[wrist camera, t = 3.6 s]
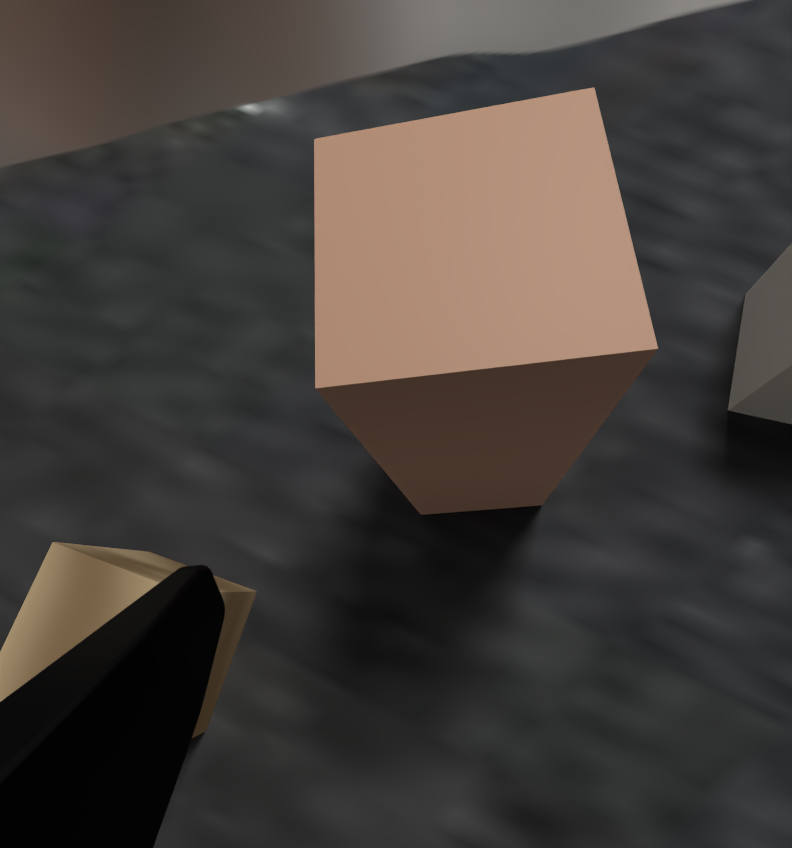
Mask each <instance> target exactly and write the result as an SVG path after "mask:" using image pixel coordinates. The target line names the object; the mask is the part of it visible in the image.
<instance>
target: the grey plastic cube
mask: <svg viewBox="0 0 792 848" xmlns="http://www.w3.org/2000/svg"><path fill="white" fill-rule="evenodd" d="M728 411H732V412H737V413H742V414H746V415H751V416H756V417H760V418H765V419H769V420H774V421H779V422H783V423H788V424H792V243H791V245H790V246H789V247H788V248H787V249H786V250H785V251H784V252H783V253H782V254H781V256H780V257H779V258H778V259H777V260H776V261H775V262H774V263H773V264H772V266H771V267H770V268H769V269H768V270H767V271H766V272H765V273H764V274H763V275H762V277H761V278H760V279H759V280H758V281H757V282H756V283H755V284H754V285H753V287H752V288H751V289H750V290H749V291H748V292H747V293H746V294H745V300H744V307H743V313H742V320H741V327H740V333H739V340H738V346H737V353H736V360H735V366H734V373H733V379H732V386H731V392H730V399H729V406H728Z"/></svg>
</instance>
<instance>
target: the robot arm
mask: <svg viewBox="0 0 792 848" xmlns="http://www.w3.org/2000/svg"><path fill="white" fill-rule="evenodd" d="M224 617H225V604H224V600H223V598H222V595H221V593H220V591H219V588H218V586H217V583H216V581H215V579H214V576H213V574H212V572H211V570H210V569H209V568H208V567H207V566H204V565H196V566H184V567H181V568H179V569H177V570H176V571H175V572H173V573H172V574H171V575H169V576H168V577H166V578H165V579H164V580H162V581H161V582H160V583H158V584H157V585H156V586H154V587H153V588H152V589H150V590H149V591H148V592H146V593H145V594H144V595H142V596H141V597H140V598H138V599H137V600H136V601H134V602H133V603H132V604H130V605H129V606H128V607H126V608H125V609H124V610H122V611H121V612H120V613H118V614H117V615H116V616H114V617H113V618H112V619H110V620H109V621H108V622H106V623H105V624H104V625H102V626H101V627H100V628H98V629H97V630H96V631H94V632H93V633H92V634H90V635H89V636H88V637H86V638H85V639H84V640H82V641H81V642H80V643H78V644H77V645H76V646H74V647H73V648H72V649H70V650H69V651H68V652H66V653H65V654H64V655H62V656H61V657H60V658H58V659H57V660H56V661H54V662H53V663H52V664H50V665H49V666H48V667H46V668H45V669H44V670H42V671H41V672H40V673H38V674H37V675H36V676H34V677H33V678H32V679H30V680H29V681H28V682H26V683H25V684H24V685H22V686H21V687H19V688H18V689H17V690H15V691H14V692H13V693H11V694H10V695H9V696H7V697H6V698H5V699H3V700H2V701H1V702H0V848H153V846H154V843H155V841H156V838H157V835H158V832H159V829H160V826H161V824H162V821H163V818H164V815H165V812H166V810H167V807H168V804H169V801H170V798H171V795H172V793H173V790H174V787H175V784H176V781H177V778H178V776H179V773H180V770H181V767H182V764H183V761H184V759H185V756H186V753H187V750H188V747H189V745H190V742H191V739H192V736H193V733H194V730H195V727H196V724H197V721H198V718H199V715H200V712H201V709H202V705H203V701H204V698H205V694H206V690H207V686H208V682H209V678H210V674H211V670H212V666H213V662H214V658H215V654H216V650H217V646H218V642H219V638H220V634H221V629H222V625H223V621H224Z"/></svg>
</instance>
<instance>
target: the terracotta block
mask: <svg viewBox="0 0 792 848" xmlns="http://www.w3.org/2000/svg"><path fill="white" fill-rule="evenodd" d="M314 191H315V388H316V390H317V391H318V392H319V393H320V394H321V396H322V397H323V398H324V399H325V400H326V402H327V403H328V404H329V405H330V406H331V408H332V409H333V410H334V411H335V412H336V414H337V415H338V416H339V417H340V418H341V420H342V421H343V422H344V423H345V424H346V426H347V427H348V428H349V429H350V430H351V432H352V433H353V434H354V435H355V436H356V438H357V439H358V440H359V441H360V442H361V444H362V445H363V446H364V447H365V448H366V450H367V451H368V452H369V453H370V454H371V456H372V457H373V458H374V459H375V460H376V462H377V463H378V464H379V465H380V466H381V468H382V469H383V470H384V471H385V472H386V474H387V475H388V476H389V477H390V478H391V480H392V481H393V482H394V483H395V484H396V486H397V487H398V488H399V489H400V490H401V492H402V493H403V494H404V495H405V496H406V498H407V499H408V500H409V501H410V502H411V504H412V505H413V506H414V507H415V508H416V510H417V511H418V512H419V513H420V514H421V515H426V514H438V513H451V512H464V511H477V510H489V509H502V508H515V507H528V506H540V505H543V503H544V502H545V501H546V499H547V498H548V496H549V495H550V494H551V492H552V491H553V490H554V488H555V487H556V486H557V484H558V483H559V482H560V480H561V479H562V478H563V476H564V475H565V474H566V472H567V471H568V470H569V468H570V467H571V465H572V464H573V463H574V461H575V460H576V459H577V457H578V456H579V455H580V453H581V452H582V451H583V449H584V448H585V447H586V445H587V444H588V443H589V441H590V440H591V438H592V437H593V436H594V434H595V433H596V432H597V430H598V429H599V428H600V426H601V425H602V424H603V422H604V421H605V420H606V418H607V417H608V416H609V414H610V413H611V411H612V410H613V409H614V407H615V406H616V405H617V403H618V402H619V401H620V399H621V398H622V397H623V395H624V394H625V393H626V391H627V390H628V389H629V387H630V386H631V384H632V383H633V382H634V380H635V379H636V378H637V376H638V375H639V374H640V372H641V371H642V370H643V368H644V367H645V366H646V364H647V363H648V362H649V360H650V359H651V357H652V356H653V355H654V353H655V352H656V351H657V349H658V347H657V342H656V338H655V334H654V330H653V326H652V322H651V318H650V314H649V310H648V306H647V302H646V297H645V293H644V289H643V285H642V281H641V277H640V273H639V269H638V265H637V261H636V256H635V252H634V248H633V244H632V240H631V236H630V232H629V228H628V224H627V220H626V216H625V211H624V207H623V203H622V199H621V195H620V191H619V187H618V183H617V179H616V175H615V170H614V166H613V162H612V158H611V154H610V150H609V146H608V142H607V138H606V134H605V130H604V125H603V121H602V117H601V113H600V109H599V105H598V101H597V97H596V93H595V89H594V88H588V89H583V90H577V91H572V92H567V93H561V94H556V95H550V96H545V97H539V98H534V99H529V100H523V101H518V102H512V103H507V104H501V105H496V106H491V107H485V108H480V109H474V110H469V111H463V112H458V113H453V114H447V115H442V116H436V117H431V118H426V119H420V120H415V121H409V122H404V123H398V124H393V125H388V126H382V127H377V128H371V129H366V130H360V131H355V132H350V133H344V134H339V135H333V136H328V137H323V138H317V139H314Z"/></svg>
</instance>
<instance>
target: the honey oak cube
mask: <svg viewBox="0 0 792 848" xmlns="http://www.w3.org/2000/svg"><path fill="white" fill-rule="evenodd" d="M184 566H187V565H184V564H181V563H178V562H176V561H173V560H170V559H167V558H165V557H162V556H159V555H157V554H154V553H151V552H145V551H136V550H126V549H116V548H107V547H97V546H87V545H78V544H68V543H59V542H53V543H52V545H51V547H50V549H49V551H48V553H47V555H46V557H45V559H44V561H43V564H42V566H41V568H40V570H39V572H38V574H37V576H36V578H35V580H34V582H33V584H32V587H31V589H30V591H29V593H28V595H27V597H26V599H25V601H24V603H23V605H22V608H21V610H20V612H19V614H18V616H17V618H16V620H15V622H14V624H13V626H12V628H11V631H10V633H9V635H8V637H7V639H6V641H5V643H4V645H3V647H2V649H1V652H0V702H1V701H2V700H3V699H5V698H6V697H7V696H9V695H10V694H11V693H13V692H14V691H15V690H17V689H18V688H19V687H21V686H22V685H24V684H25V683H26V682H28V681H29V680H30V679H32V678H33V677H34V676H36V675H37V674H38V673H40V672H41V671H42V670H44V669H45V668H46V667H48V666H49V665H50V664H52V663H53V662H54V661H56V660H57V659H58V658H60V657H61V656H62V655H64V654H65V653H66V652H68V651H69V650H70V649H72V648H73V647H74V646H76V645H77V644H78V643H80V642H81V641H82V640H84V639H85V638H86V637H88V636H89V635H90V634H92V633H93V632H94V631H96V630H97V629H98V628H100V627H101V626H102V625H104V624H105V623H106V622H108V621H109V620H110V619H112V618H113V617H114V616H116V615H117V614H118V613H120V612H121V611H122V610H124V609H125V608H126V607H128V606H129V605H130V604H132V603H133V602H134V601H136V600H137V599H138V598H140V597H141V596H142V595H144V594H145V593H146V592H148V591H149V590H150V589H152V588H153V587H154V586H156V585H157V584H158V583H160V582H161V581H162V580H164V579H165V578H166V577H168V576H169V575H171V574H172V573H173V572H175V571H176V570H177V569H179V568H181V567H184ZM213 576H214V575H213ZM214 579H215V581H216V583H217V586H218V588H219V591H220V593H221V595H222V598H223V600H224V604H225V617H224V621H223V625H222V629H221V634H220V638H219V642H218V646H217V650H216V654H215V658H214V662H213V666H212V670H211V674H210V678H209V682H208V686H207V690H206V694H205V698H204V701H203V705H202V709H201V712H200V715H199V718H198V721H197V724H196V727H195V730H194V733H193V736H192V738H194V737H196V736H198V735H199V734H201V733H203V732H205V731H206V729H207V726H208V724H209V721H210V718H211V716H212V713H213V710H214V707H215V705H216V702H217V699H218V696H219V694H220V691H221V688H222V686H223V683H224V680H225V677H226V675H227V672H228V669H229V667H230V664H231V661H232V658H233V656H234V653H235V650H236V647H237V645H238V642H239V639H240V637H241V634H242V631H243V628H244V626H245V623H246V620H247V618H248V615H249V612H250V609H251V607H252V604H253V601H254V598H255V596H256V593H257V591H255V590H252V589H249V588H246V587H244V586H241V585H238V584H235V583H233V582H230V581H227V580H225V579H222V578H219V577H216V576H214Z"/></svg>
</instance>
